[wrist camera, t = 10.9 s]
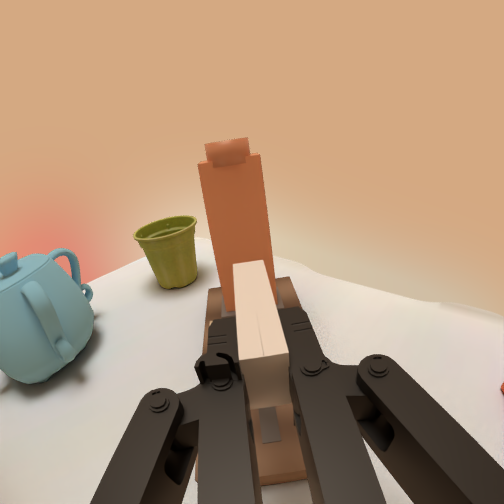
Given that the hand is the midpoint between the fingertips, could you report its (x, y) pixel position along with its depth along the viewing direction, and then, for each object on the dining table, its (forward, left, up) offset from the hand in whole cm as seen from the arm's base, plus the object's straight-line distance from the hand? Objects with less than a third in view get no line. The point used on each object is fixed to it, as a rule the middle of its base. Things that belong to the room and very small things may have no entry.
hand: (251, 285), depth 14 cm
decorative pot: (-28, -7, -12) cm, 31 cm away
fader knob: (-7, +9, -9) cm, 15 cm away
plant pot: (-24, +15, -12) cm, 30 cm away
